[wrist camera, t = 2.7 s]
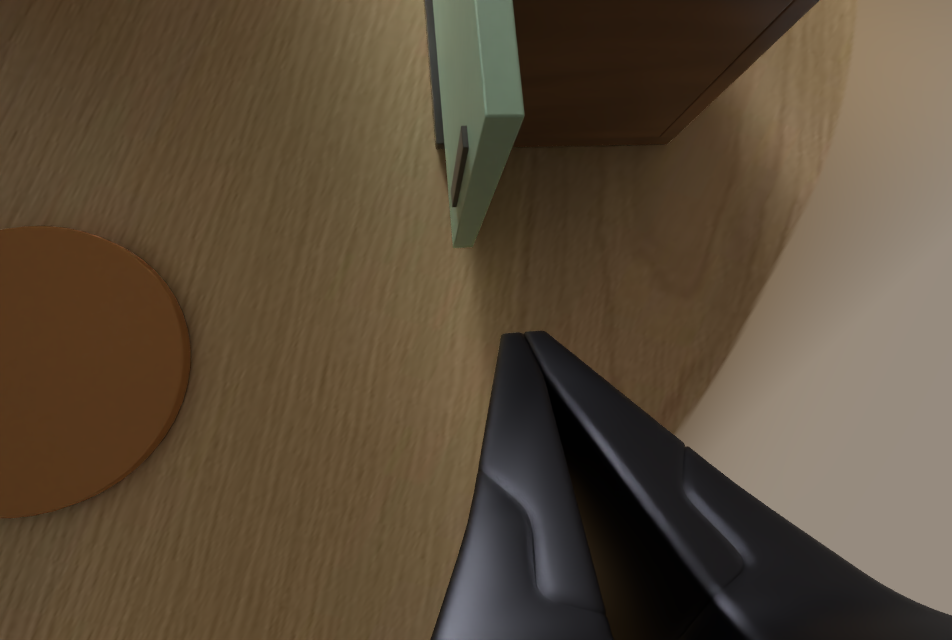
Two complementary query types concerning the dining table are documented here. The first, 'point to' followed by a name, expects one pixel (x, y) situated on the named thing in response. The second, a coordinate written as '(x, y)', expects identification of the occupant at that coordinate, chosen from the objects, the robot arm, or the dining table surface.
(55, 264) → the coaster
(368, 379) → the dining table surface
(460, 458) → the dining table surface
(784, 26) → the cabinet
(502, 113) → the sliding door
